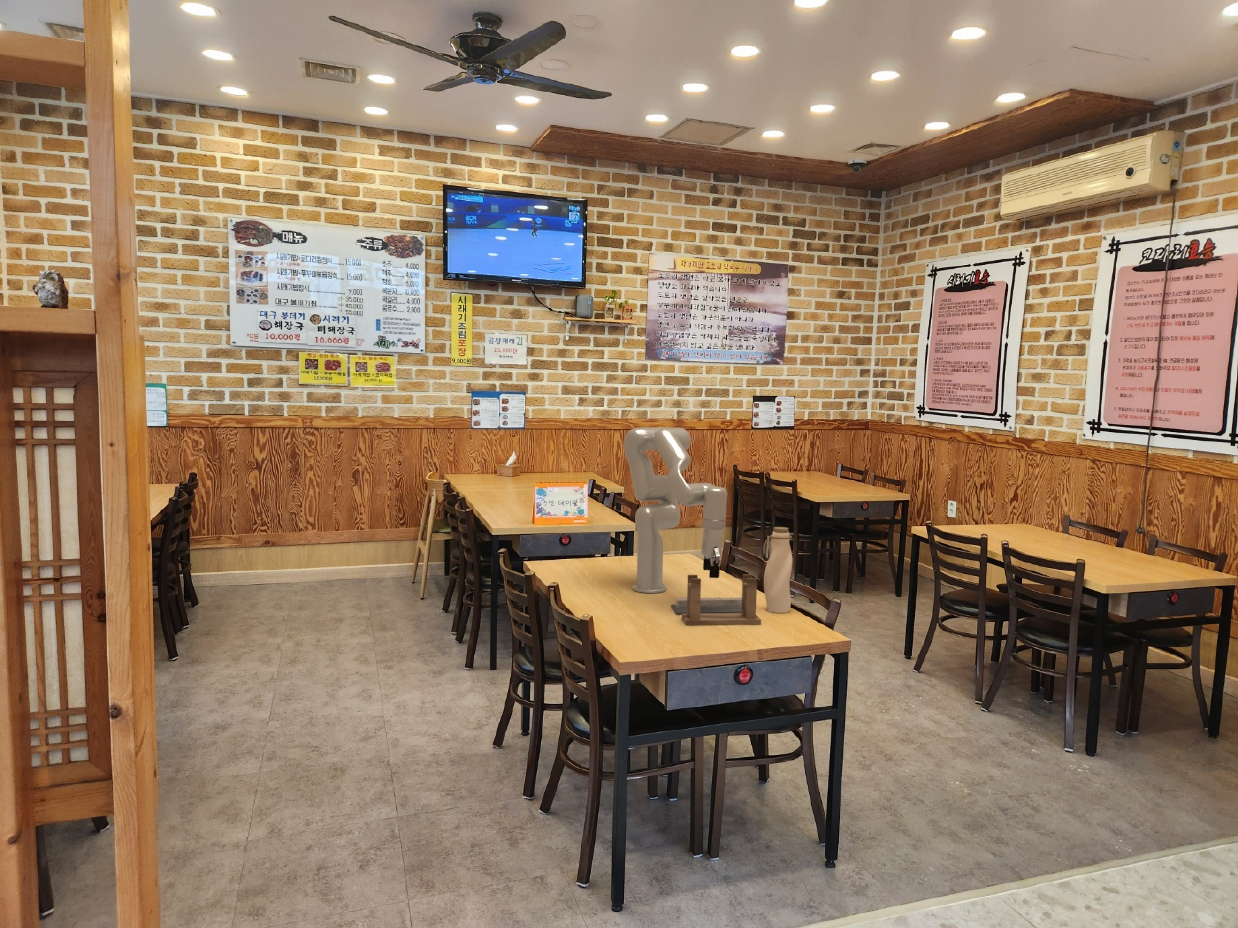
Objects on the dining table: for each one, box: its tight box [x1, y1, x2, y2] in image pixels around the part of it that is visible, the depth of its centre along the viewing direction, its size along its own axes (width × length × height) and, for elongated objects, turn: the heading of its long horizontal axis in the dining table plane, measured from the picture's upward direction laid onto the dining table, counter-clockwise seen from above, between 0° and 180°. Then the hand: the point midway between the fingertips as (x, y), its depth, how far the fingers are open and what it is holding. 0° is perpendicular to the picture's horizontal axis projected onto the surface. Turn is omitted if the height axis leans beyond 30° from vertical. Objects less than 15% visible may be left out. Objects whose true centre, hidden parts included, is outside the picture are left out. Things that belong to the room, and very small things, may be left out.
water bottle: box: [762, 526, 794, 614], centre depth 266 cm, size 10×9×28 cm
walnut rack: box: [681, 573, 762, 626], centre depth 252 cm, size 8×24×14 cm, turn 96°
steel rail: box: [675, 597, 742, 609], centre depth 266 cm, size 3×24×3 cm, turn 96°
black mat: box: [670, 603, 742, 616], centre depth 266 cm, size 10×26×1 cm, turn 96°
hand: (710, 573), depth 266 cm, fingers open, 9 cm apart
